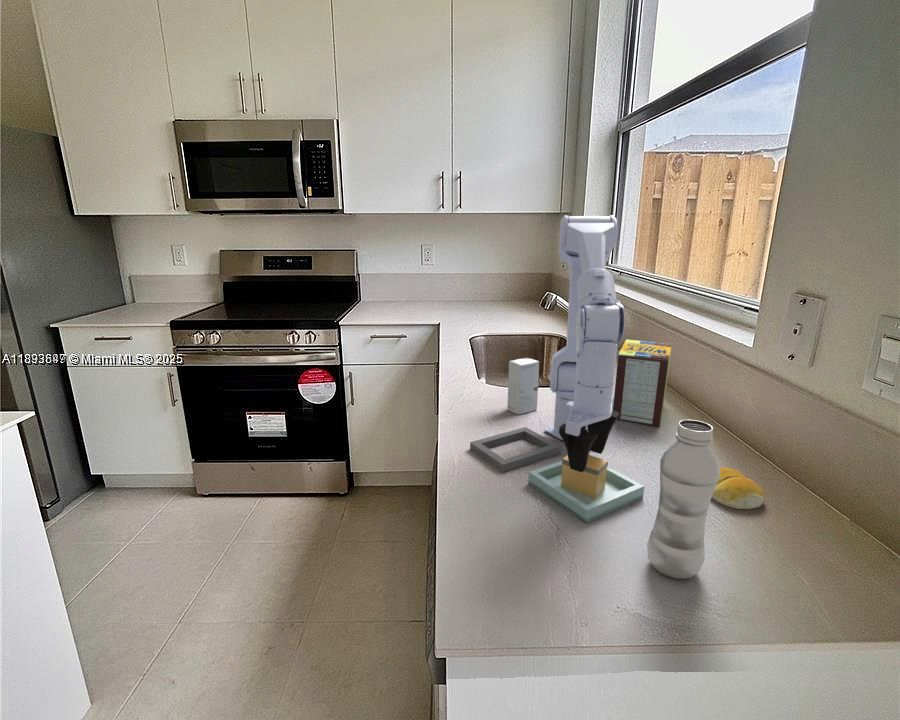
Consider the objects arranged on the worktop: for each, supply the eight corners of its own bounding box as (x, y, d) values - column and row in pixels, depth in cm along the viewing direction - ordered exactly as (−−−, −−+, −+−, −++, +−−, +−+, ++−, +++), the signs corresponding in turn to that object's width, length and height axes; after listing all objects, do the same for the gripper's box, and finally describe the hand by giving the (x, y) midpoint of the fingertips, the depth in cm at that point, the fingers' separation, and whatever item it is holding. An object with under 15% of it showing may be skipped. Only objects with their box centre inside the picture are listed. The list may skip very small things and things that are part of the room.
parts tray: (582, 464, 87) (583, 453, 86) (642, 498, 76) (644, 486, 76) (528, 483, 80) (529, 472, 80) (585, 523, 70) (587, 510, 69)
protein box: (663, 404, 116) (672, 343, 112) (660, 427, 103) (669, 359, 98) (619, 397, 120) (625, 338, 116) (610, 419, 107) (617, 353, 103)
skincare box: (518, 415, 109) (520, 365, 106) (506, 409, 113) (507, 360, 109) (538, 409, 112) (540, 361, 109) (525, 404, 116) (527, 356, 112)
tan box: (571, 475, 82) (573, 449, 80) (605, 487, 78) (608, 460, 77) (560, 485, 79) (562, 458, 77) (595, 498, 75) (598, 470, 74)
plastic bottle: (635, 552, 64) (653, 415, 58) (683, 550, 64) (706, 413, 59) (660, 588, 57) (683, 438, 52) (712, 584, 58) (741, 436, 52)
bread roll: (732, 479, 82) (736, 458, 81) (772, 509, 74) (777, 486, 73) (688, 482, 81) (692, 461, 80) (723, 512, 73) (727, 489, 72)
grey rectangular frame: (525, 433, 100) (525, 426, 99) (560, 453, 91) (561, 446, 91) (470, 449, 93) (470, 442, 92) (502, 472, 84) (502, 464, 84)
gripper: (588, 366, 81) (581, 438, 85) (549, 388, 70) (543, 470, 74) (629, 374, 77) (620, 449, 81) (595, 399, 66) (586, 485, 70)
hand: (586, 460), depth 77 cm, fingers open, 7 cm apart
